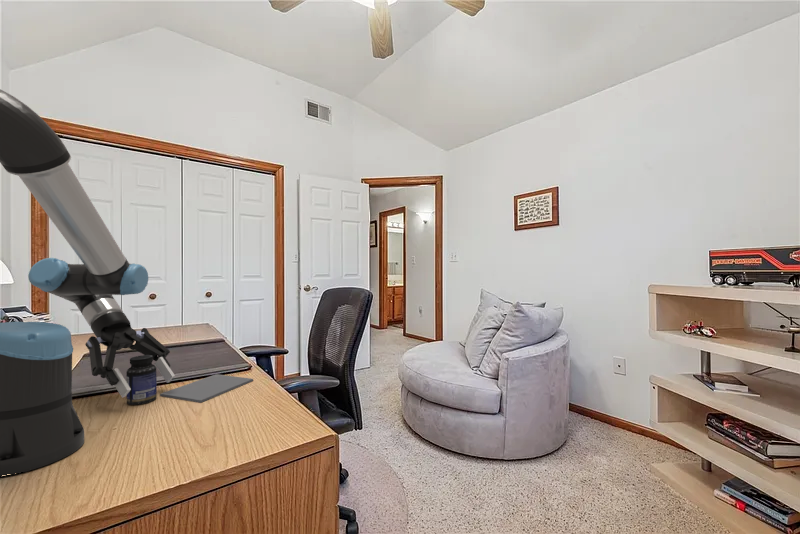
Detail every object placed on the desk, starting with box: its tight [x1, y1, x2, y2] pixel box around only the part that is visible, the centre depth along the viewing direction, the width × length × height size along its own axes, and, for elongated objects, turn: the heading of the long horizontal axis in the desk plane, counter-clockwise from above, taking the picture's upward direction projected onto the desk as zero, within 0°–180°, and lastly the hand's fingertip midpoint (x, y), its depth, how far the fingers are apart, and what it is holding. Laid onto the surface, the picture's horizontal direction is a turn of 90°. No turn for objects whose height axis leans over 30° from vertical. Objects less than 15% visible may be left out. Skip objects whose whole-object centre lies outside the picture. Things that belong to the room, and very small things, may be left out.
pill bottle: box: [125, 354, 158, 406], centre depth 90 cm, size 6×6×11 cm
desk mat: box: [159, 373, 254, 404], centre depth 100 cm, size 18×14×1 cm
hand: (150, 386), depth 89 cm, fingers open, 10 cm apart
